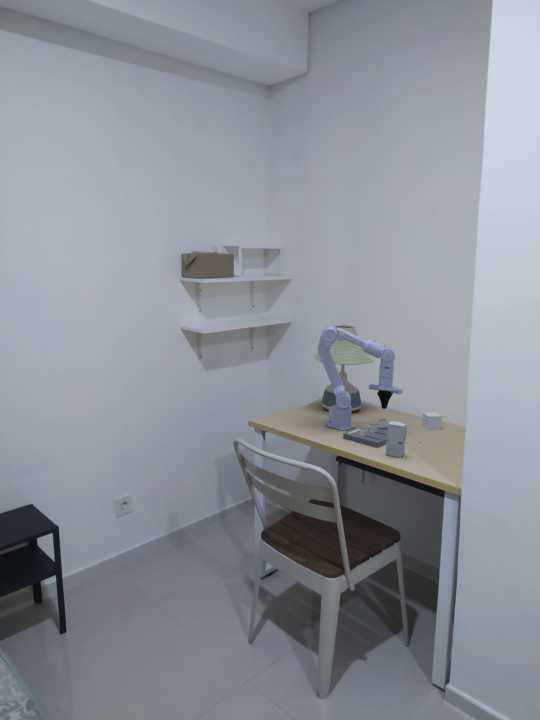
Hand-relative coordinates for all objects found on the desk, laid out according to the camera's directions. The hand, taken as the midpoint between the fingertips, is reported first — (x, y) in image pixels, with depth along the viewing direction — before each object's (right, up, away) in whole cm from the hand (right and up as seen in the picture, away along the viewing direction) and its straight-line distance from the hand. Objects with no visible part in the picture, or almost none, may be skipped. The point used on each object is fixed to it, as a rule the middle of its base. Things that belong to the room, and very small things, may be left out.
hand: (384, 408), depth 233 cm
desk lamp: (-14, -4, +33) cm, 36 cm away
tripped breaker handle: (-1, -8, -3) cm, 8 cm away
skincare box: (-2, -15, -29) cm, 33 cm away
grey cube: (+22, -9, +6) cm, 24 cm away
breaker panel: (-5, -11, -8) cm, 15 cm away
